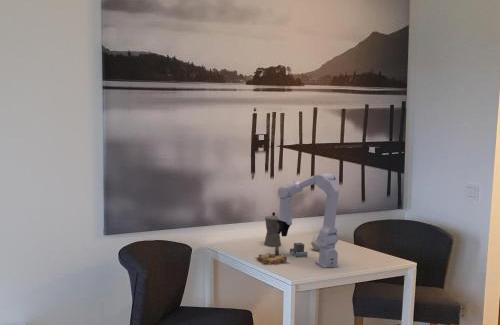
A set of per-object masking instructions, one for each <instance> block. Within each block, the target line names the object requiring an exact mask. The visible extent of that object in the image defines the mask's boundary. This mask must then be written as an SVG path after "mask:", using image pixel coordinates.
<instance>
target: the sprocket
mask: <svg viewBox="0 0 500 325" xmlns="http://www.w3.org/2000/svg"><path fill="white" fill-rule="evenodd" d="M274 248H275V249H274V253H270V252H269V253H265V254H258V256H256V257H257V259H256V260H257V261H258V262H259V261H263V263H274V264H278V263H280V262H283V263H285V262H286V261H287V260H288V257H287V256H286V255H282V254H281V253H279V252H280V246H278V247H274Z"/></svg>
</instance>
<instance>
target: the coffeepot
mask: <svg viewBox="0 0 500 325" xmlns="http://www.w3.org/2000/svg"><path fill="white" fill-rule="evenodd" d="M271 214H272V215H267V216H265V217H264V220H265V228H266V233H265V234H266V235H265V240H264V246H266V247H270V248H271V247H272V248H273V247H274V248H275V247H280V246H282V244H281V243H282V242H281V235H280V234H281V229H280V226H279V224H278V222H281V220H278V216H279V215H276V212H272V213H271Z"/></svg>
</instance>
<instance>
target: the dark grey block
mask: <svg viewBox="0 0 500 325" xmlns="http://www.w3.org/2000/svg"><path fill="white" fill-rule="evenodd" d="M293 248H294V253H295V254H296V252H305V244H304V243H302V242H294V243H293Z"/></svg>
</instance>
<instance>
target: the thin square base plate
mask: <svg viewBox="0 0 500 325" xmlns="http://www.w3.org/2000/svg"><path fill="white" fill-rule="evenodd" d="M257 257H258V256H255V257H254V259H256V260H257ZM258 262H259V263H261V264H262V265H264V266H276V265H290V262H289V261H287V260H286V262H285V263H283V262H280V263H278V264H274V263H263V261H258Z"/></svg>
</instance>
